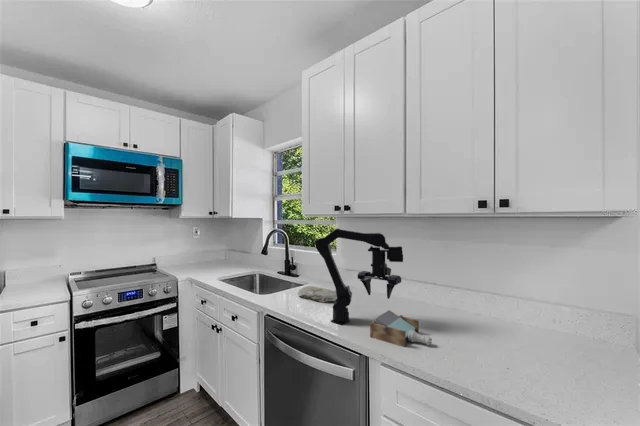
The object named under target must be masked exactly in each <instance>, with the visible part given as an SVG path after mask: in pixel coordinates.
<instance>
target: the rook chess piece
mask: <svg viewBox="0 0 640 426" xmlns="http://www.w3.org/2000/svg"><path fill="white" fill-rule="evenodd" d="M432 340H433V338H431V336H426V335H422V334H421V333H419V334H418V333H417V332H415V331H412V330H410V331H409V333H408V337H407V341H408V342H411V343H414V342H415V343H417V342H418V343H422V344H425V345H426V346H427V347H428V346H431V345H432Z"/></svg>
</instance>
